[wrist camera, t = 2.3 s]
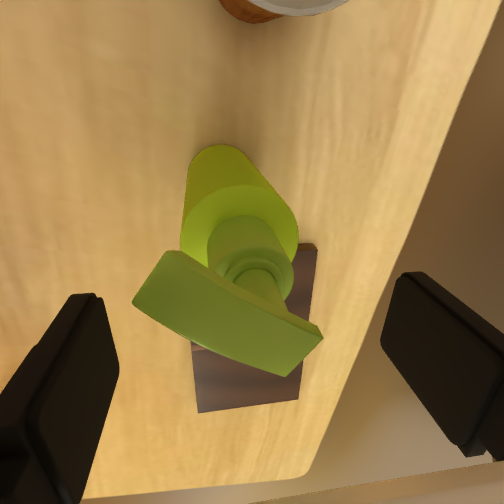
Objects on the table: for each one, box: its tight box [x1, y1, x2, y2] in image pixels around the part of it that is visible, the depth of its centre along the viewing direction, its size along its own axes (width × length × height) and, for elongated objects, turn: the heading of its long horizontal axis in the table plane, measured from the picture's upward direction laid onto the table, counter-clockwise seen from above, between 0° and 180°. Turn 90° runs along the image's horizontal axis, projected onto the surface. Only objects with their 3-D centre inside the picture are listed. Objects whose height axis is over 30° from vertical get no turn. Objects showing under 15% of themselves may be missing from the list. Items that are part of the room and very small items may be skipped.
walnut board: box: [191, 244, 318, 413], centre depth 34 cm, size 22×13×2 cm, turn 179°
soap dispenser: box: [132, 145, 323, 377], centre depth 17 cm, size 6×7×20 cm
